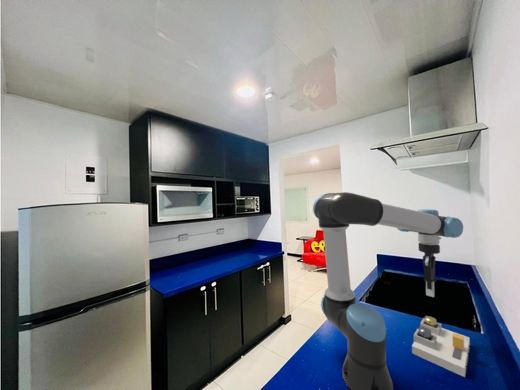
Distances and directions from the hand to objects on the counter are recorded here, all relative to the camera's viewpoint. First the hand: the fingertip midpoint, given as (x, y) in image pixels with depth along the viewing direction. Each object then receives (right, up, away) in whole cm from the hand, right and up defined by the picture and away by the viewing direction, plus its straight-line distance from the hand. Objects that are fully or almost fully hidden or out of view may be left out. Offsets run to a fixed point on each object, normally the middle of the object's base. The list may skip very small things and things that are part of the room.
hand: (430, 295), depth 93 cm
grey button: (-9, -13, -8) cm, 18 cm away
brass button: (0, -13, 0) cm, 13 cm away
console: (-2, -18, -8) cm, 20 cm away
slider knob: (+1, -14, -12) cm, 19 cm away
